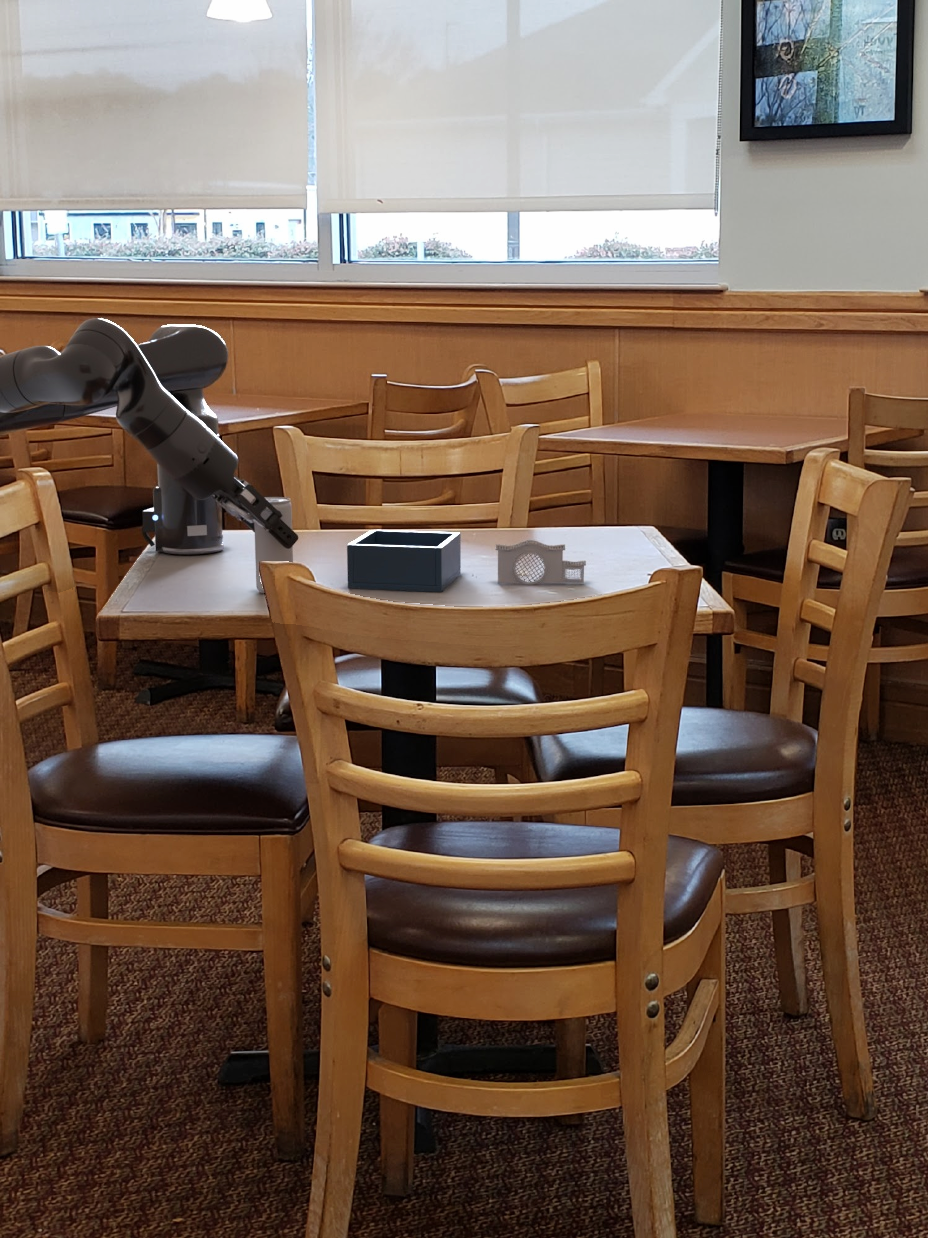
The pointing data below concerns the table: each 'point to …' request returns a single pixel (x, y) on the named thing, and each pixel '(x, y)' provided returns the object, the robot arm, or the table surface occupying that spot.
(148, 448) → the robot arm
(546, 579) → the garden wall model
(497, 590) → the table surface
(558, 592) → the table surface
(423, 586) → the bin
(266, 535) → the beverage can
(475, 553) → the table surface
